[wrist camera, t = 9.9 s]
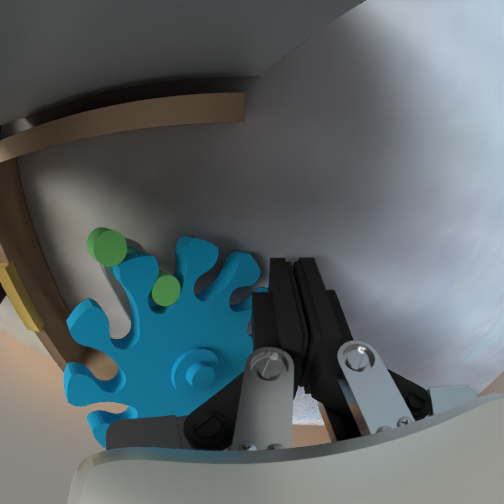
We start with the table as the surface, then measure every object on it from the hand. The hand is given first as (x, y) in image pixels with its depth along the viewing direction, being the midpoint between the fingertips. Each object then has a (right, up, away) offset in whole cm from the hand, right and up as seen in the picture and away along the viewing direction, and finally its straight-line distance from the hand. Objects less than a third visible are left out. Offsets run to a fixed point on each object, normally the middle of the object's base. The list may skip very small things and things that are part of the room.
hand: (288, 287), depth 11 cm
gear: (-4, 0, +2) cm, 5 cm away
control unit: (-6, +10, -5) cm, 13 cm away
